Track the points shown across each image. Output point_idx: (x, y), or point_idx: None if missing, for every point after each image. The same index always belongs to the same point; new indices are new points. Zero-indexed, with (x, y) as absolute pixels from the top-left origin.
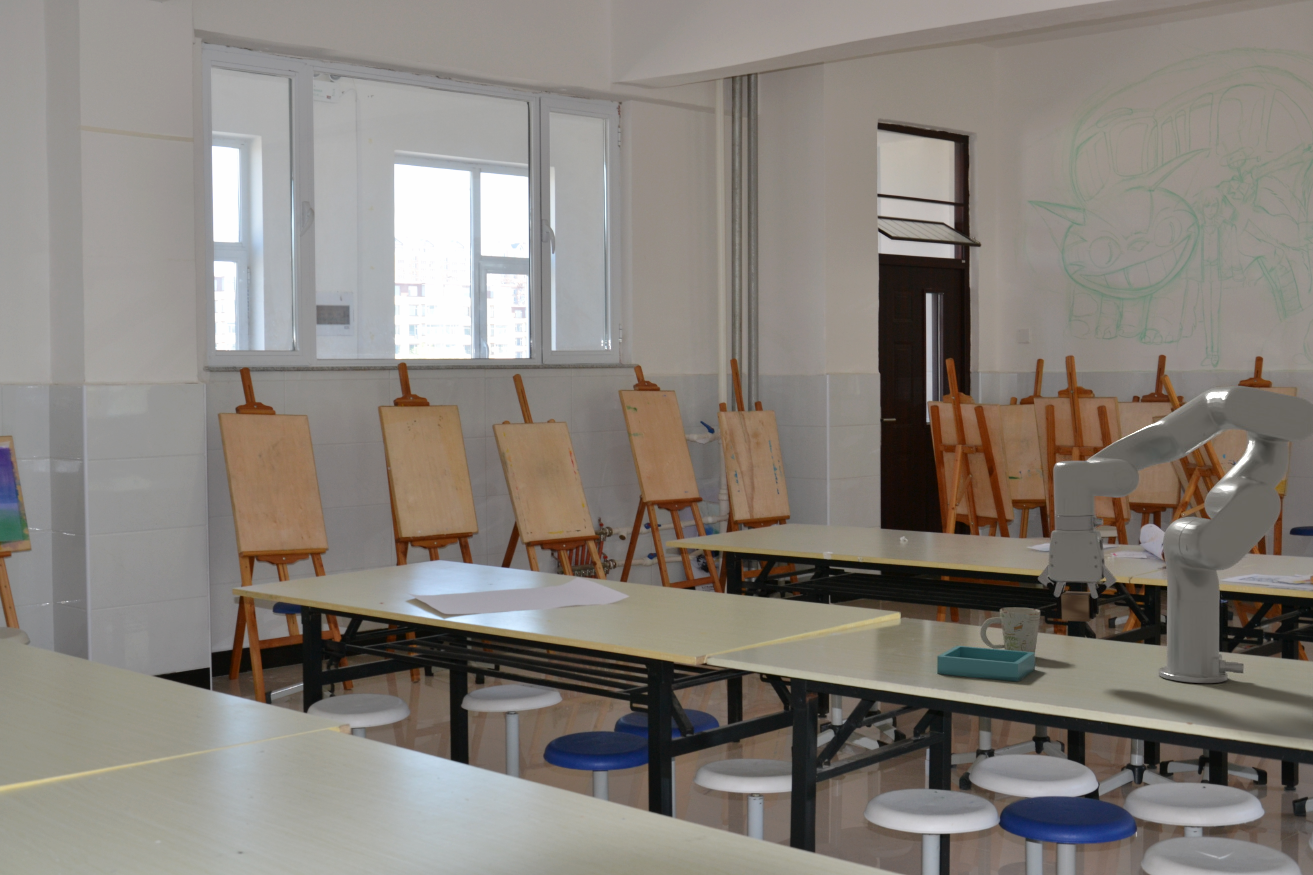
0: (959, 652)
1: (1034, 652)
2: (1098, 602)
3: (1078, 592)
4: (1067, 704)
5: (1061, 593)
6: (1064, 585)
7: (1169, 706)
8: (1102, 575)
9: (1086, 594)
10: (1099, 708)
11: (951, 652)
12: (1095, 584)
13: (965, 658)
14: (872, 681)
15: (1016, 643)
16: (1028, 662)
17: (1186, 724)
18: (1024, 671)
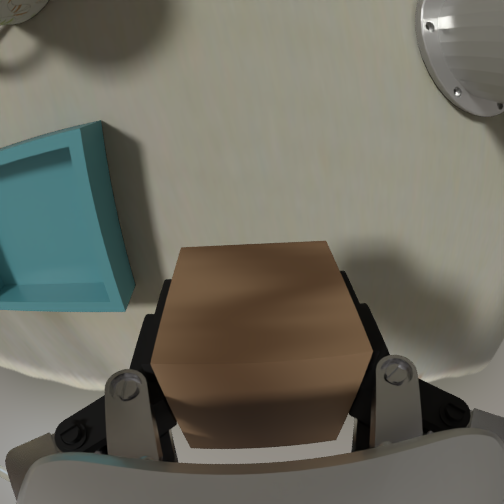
0: None
1: (79, 130)
2: (382, 341)
3: (262, 388)
4: None
5: (171, 427)
6: (159, 445)
7: (418, 324)
8: (496, 445)
9: (327, 422)
10: None
11: None
12: (404, 439)
13: (25, 306)
14: (10, 365)
15: (2, 22)
16: (101, 203)
17: None
18: (117, 238)
